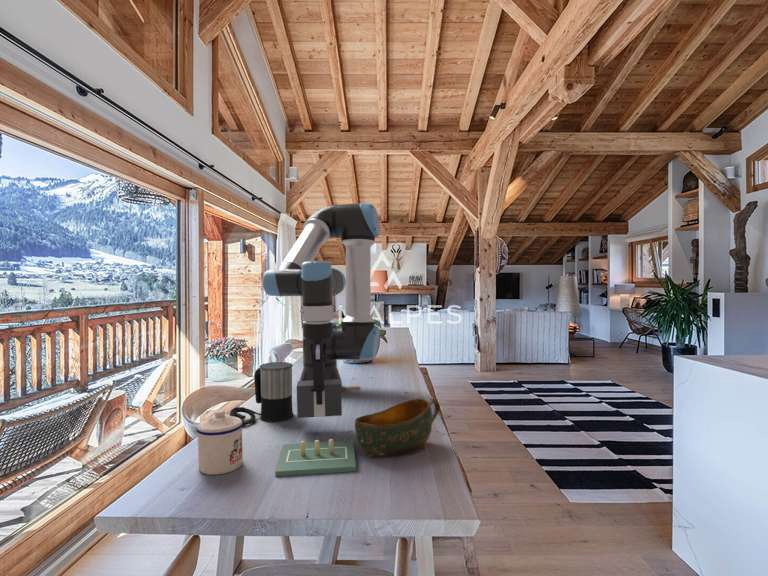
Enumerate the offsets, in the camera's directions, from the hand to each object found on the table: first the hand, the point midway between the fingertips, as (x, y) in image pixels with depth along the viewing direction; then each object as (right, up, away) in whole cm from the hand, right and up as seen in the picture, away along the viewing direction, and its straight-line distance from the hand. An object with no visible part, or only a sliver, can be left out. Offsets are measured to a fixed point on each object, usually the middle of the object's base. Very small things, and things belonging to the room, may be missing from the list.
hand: (320, 412), depth 111 cm
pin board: (+2, -5, -17) cm, 18 cm away
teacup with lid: (-18, -6, -19) cm, 26 cm away
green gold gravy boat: (+20, -5, -12) cm, 24 cm away
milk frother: (-17, -5, +10) cm, 20 cm away
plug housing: (+2, 0, 0) cm, 3 cm away
